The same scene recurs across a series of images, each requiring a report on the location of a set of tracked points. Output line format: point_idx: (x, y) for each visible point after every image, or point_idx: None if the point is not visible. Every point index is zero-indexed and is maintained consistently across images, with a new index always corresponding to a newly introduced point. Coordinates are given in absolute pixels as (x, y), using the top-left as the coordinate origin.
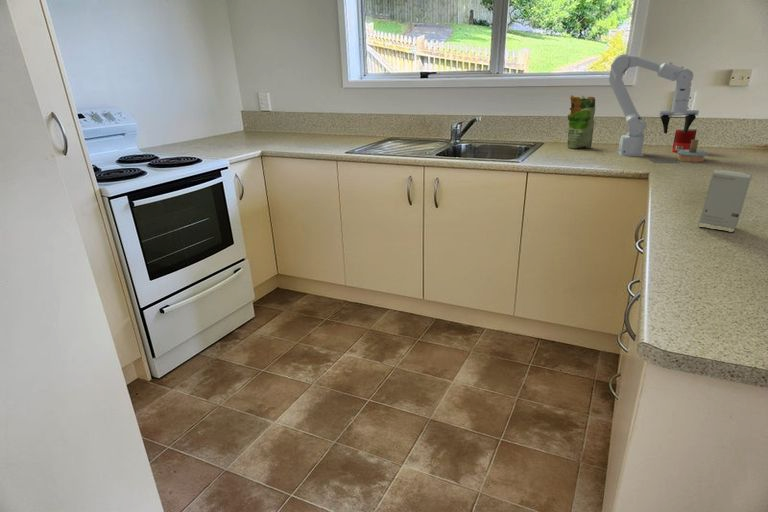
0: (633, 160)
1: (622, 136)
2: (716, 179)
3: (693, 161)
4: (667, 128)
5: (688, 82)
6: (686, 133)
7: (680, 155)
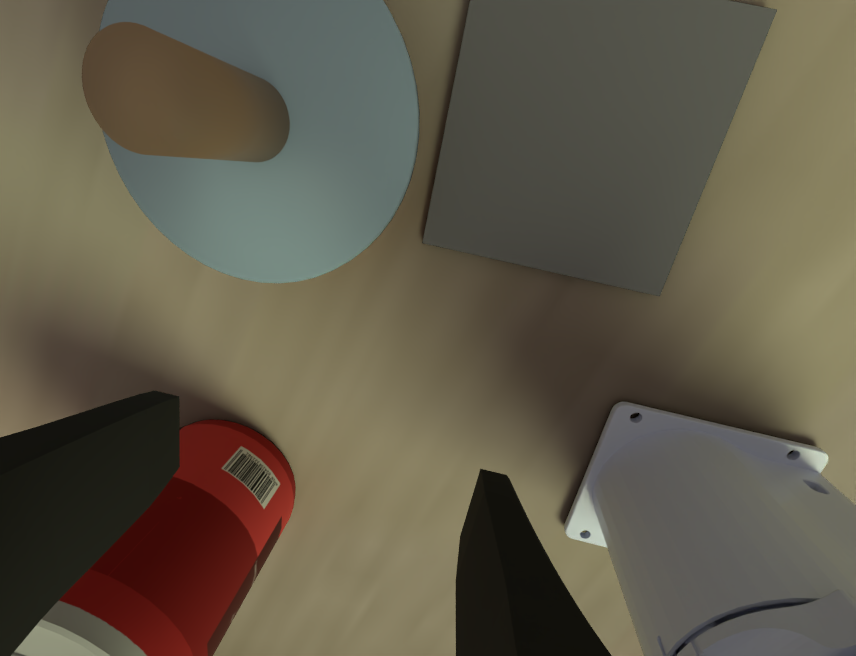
0: (848, 249)
1: None
2: None
3: None
4: (498, 532)
5: None
6: (109, 572)
7: None
